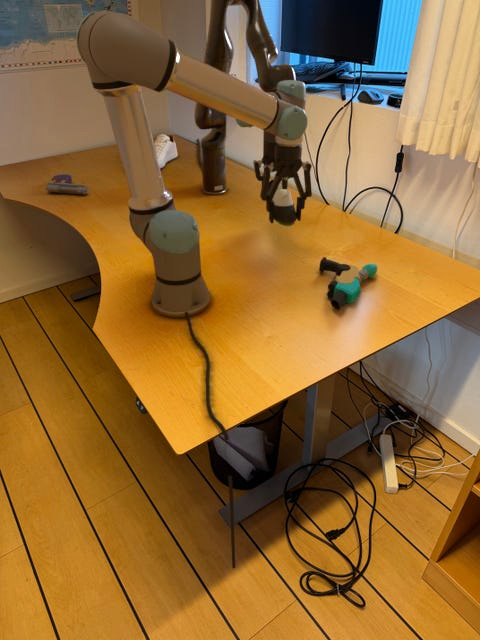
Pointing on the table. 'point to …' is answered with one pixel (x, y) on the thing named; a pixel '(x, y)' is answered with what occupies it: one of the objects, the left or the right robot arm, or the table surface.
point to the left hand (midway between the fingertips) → (284, 220)
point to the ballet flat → (283, 206)
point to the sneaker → (165, 149)
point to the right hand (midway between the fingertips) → (274, 191)
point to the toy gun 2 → (345, 281)
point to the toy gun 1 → (65, 185)
